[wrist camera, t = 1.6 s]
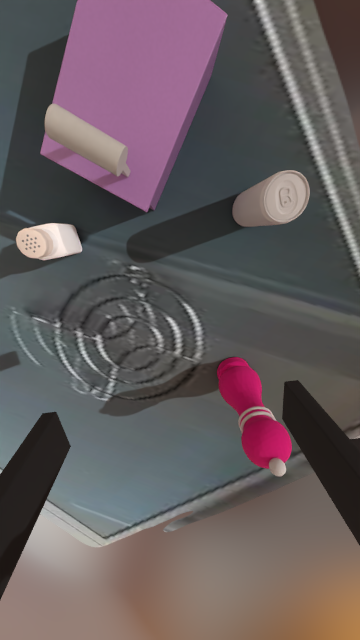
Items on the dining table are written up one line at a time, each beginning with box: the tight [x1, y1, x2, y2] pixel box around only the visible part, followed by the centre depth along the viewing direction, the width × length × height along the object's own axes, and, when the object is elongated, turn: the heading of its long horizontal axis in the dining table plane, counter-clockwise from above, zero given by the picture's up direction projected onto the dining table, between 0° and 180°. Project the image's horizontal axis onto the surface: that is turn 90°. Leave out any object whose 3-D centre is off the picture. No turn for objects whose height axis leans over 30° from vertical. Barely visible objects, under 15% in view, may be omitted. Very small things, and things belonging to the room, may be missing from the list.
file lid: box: [40, 0, 227, 212], centre depth 19 cm, size 18×12×7 cm
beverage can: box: [232, 170, 310, 227], centre depth 27 cm, size 5×5×12 cm
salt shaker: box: [16, 223, 82, 261], centre depth 29 cm, size 4×4×10 cm
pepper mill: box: [217, 357, 292, 476], centre depth 34 cm, size 7×7×20 cm
